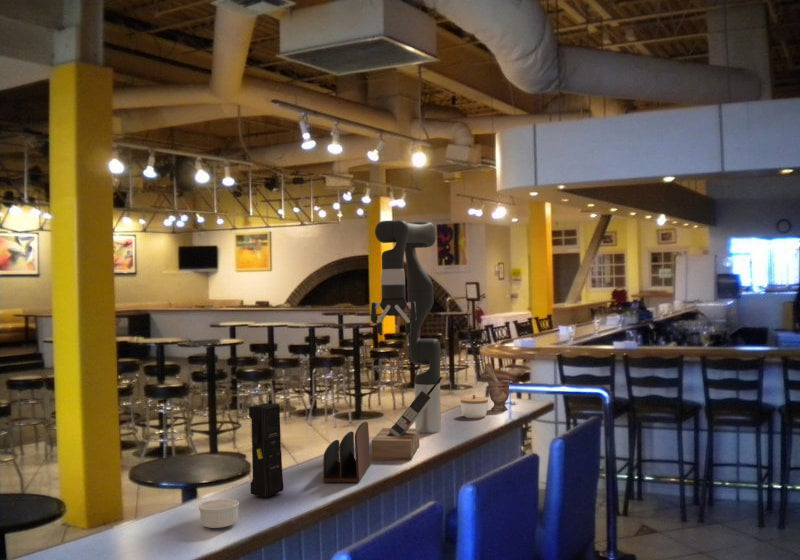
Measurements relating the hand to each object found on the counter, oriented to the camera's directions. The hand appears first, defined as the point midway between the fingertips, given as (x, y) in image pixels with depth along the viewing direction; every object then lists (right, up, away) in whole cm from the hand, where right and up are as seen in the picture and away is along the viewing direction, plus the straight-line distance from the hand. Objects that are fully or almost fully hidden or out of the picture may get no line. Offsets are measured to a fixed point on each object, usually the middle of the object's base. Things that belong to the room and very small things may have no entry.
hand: (394, 335), depth 245 cm
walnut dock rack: (+1, -37, 0) cm, 37 cm away
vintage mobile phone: (0, -32, -1) cm, 32 cm away
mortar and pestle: (+41, -37, +75) cm, 94 cm away
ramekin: (-39, -38, -70) cm, 88 cm away
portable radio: (-32, -38, -46) cm, 68 cm away
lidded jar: (+31, -38, +61) cm, 78 cm away
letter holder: (-13, -38, -26) cm, 47 cm away
